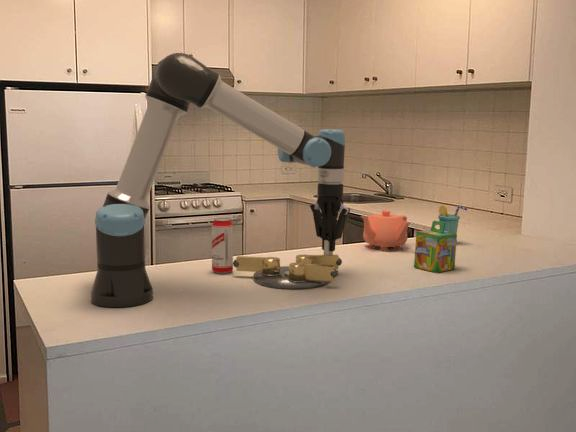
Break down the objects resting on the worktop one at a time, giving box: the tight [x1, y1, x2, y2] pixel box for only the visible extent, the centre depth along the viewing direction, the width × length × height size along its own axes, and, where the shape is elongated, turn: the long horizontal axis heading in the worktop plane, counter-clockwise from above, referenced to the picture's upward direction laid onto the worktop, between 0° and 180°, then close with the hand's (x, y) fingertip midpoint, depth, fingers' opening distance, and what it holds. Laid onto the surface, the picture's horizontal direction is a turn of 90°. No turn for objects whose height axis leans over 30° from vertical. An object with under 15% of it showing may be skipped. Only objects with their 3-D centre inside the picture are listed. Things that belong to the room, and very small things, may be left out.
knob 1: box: [233, 255, 281, 275], centre depth 184 cm, size 14×5×4 cm, turn 82°
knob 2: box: [295, 254, 343, 270], centre depth 187 cm, size 14×5×4 cm, turn 97°
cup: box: [437, 204, 468, 235], centre depth 234 cm, size 14×8×15 cm, turn 35°
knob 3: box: [289, 262, 339, 282], centre depth 175 cm, size 14×5×4 cm, turn 76°
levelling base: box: [253, 265, 331, 291], centre depth 183 cm, size 22×22×2 cm
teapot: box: [360, 209, 410, 252], centre depth 227 cm, size 16×17×14 cm
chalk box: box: [413, 220, 458, 274], centre depth 196 cm, size 9×9×15 cm
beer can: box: [211, 217, 234, 275], centre depth 189 cm, size 6×6×16 cm
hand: (328, 261), depth 190 cm, fingers closed
